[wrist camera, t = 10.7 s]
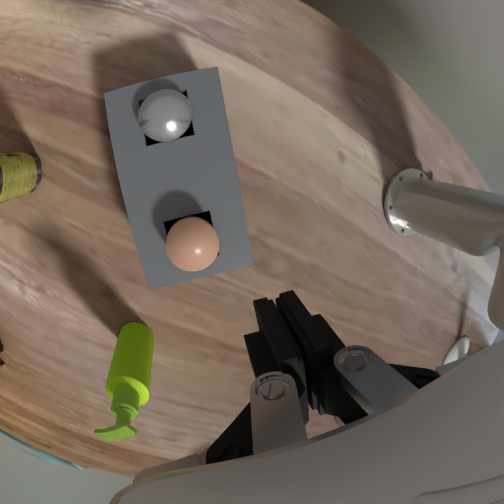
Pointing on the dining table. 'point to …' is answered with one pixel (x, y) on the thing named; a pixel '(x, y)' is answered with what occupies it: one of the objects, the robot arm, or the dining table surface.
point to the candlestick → (457, 350)
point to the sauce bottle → (18, 175)
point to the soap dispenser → (129, 379)
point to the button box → (179, 175)
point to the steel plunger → (165, 115)
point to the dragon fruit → (0, 349)
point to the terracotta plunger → (192, 243)
